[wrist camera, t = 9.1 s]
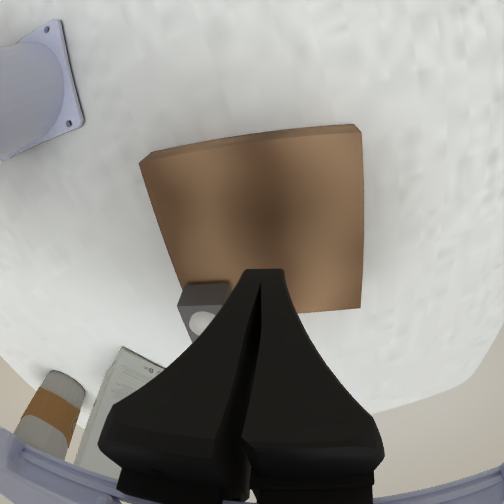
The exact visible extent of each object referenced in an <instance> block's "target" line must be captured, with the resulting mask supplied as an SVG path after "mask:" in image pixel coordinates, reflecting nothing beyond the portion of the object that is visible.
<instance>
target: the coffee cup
mask: <svg viewBox="0 0 504 504" xmlns="http://www.w3.org/2000/svg"><path fill="white" fill-rule="evenodd" d="M83 400H84V389H83V388H82V386H81V385H80V384H79V383H78V382H76V381H75V380H74V379H72V378H71V377H69V376H67V375H65V374H63V373H61V372H58V371H52V372H51V373H49V374H48V375H47V377H46V378H45V380H44V381H43V383H42V385H41V386H40V387H39V388H38V390H37V392H36V393H35V395H34V397H33V399H32V400H31V402H30V404H29V405H28V407H27V409H26V410H25V412H24V414H23V416H22V417H21V421H20V422H19V424H18V426H17V428H16V430H15V432H14V433H13V434H14V435H16V436H17V437H18V438H20V439H21V440H22V441H23V442H24V443H25V444H27V445H29V446H31V447H33V448H35V449H38V450H40V451H42V452H44V453H47V454H49V455H51V456H54V457H56V458H58V459H61V460H63V461H64V460H65V456H66V453H67V449H68V448H69V445H70V442H71V438H72V435H73V432H74V429H75V426H76V423H77V419H78V416H79V413H80V408H81V406H82V403H83Z"/></svg>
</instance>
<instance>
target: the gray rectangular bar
mask: <svg viewBox="0 0 504 504" xmlns="http://www.w3.org/2000/svg"><path fill="white" fill-rule="evenodd" d="M230 294H231V289H230V285H229V283H221V284H201V285H185V286H184V289H183V292H182V294H181V297H180V299H179V302H178V305H177V307H178V310H179V312H180V315H181V317H182V320H183V322H184V324H185V327H186V329H187V331H188V334H189V336H190V338H191V341H192V343H193V342H194V341H195V340H196V339H197V338H198V337H199V336H200V334H201V333H202V332H203V331H204V330H205V328H206V327H207V326H208V325H209V323H210V322H211V321H212V320H213V318H214V317H215V316H216V314H217V313H218V312H219V310H220V309H221V307H222V306H223V304H224V303H225V301H226V300H227V299H228V297H229V296H230Z"/></svg>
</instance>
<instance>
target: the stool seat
mask: <svg viewBox="0 0 504 504" xmlns="http://www.w3.org/2000/svg"><path fill="white" fill-rule="evenodd" d="M139 166H140V169H141V173H142V176H143V179H144V182H145V185H146V188H147V192H148V195H149V198H150V201H151V204H152V207H153V210H154V213H155V216H156V219H157V222H158V225H159V227H160V230H161V233H162V236H163V239H164V242H165V244H166V247H167V250H168V253H169V256H170V258H171V261H172V264H173V266H174V269H175V272H176V274H177V277H178V280H179V282H180V285H181V287H182V290H183V289H184V286H185V285H201V284H221V283H229V285H230V289H231V292H232V291H233V289H234V287H235V286H236V284H237V282H238V281H239V279H240V277H241V275H242V273H243V271H244V270H246V269H279V268H281V269H283V270H284V271H285V280H286V284H287V288H288V291H289V294H290V297H291V300H292V302H293V305H294V307H295V310H296V312H297V313H310V312H322V311H334V310H345V309H355V308H360V306H361V291H362V273H363V245H364V179H363V152H362V134H361V131H360V130H359V129H358V128H357V127H356V126H355V125H354V124H346V125H331V126H318V127H307V128H297V129H288V130H279V131H271V132H263V133H255V134H248V135H241V136H235V137H228V138H222V139H216V140H210V141H205V142H199V143H194V144H189V145H184V146H179V147H174V148H169V149H164V150H160V151H155V152H151V153H150V154H149V155H148V156H147V157H145V158H144V159H143V160H142V161H141V162H139Z"/></svg>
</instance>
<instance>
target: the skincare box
mask: <svg viewBox="0 0 504 504" xmlns="http://www.w3.org/2000/svg"><path fill="white" fill-rule="evenodd" d="M163 370H165V369H163V368H161V367H158V366H156V365H154V364H152V363H150V362H148V361H147V360H145V359H143V358H142V357H140V356H138V355H136V354H135V353H133V352H131V351H129V350H127V349H125V348H121V350H120V352H119V355H118V357H117V358H116V360H115V362H114V364H113V365H112V367H111V368H110V369H109V371H108V372H107V373H106V375H105V377H104V380H103V382H102V385H101V387H100V390H99V393H98V395H97V398H96V400H95V403H94V406H93V408H92V411H91V414H90V416H89V419H88V422H87V425H86V428H85V431H84V434H83V436H82V439H81V443H80V446H79V449H78V453H77V455H76V458H75V461H74V465H76V466H79V467H82V468H84V469H87V470H90V471H93V472H96V473H99V474H102V475H105V476H109V477H112V478H115V479H119V476H120V472H121V469H122V468H121V467H120V466H118V465H117V464H116V463H114V462H113V461H112V460H111V459H109V458H108V457H107V456H105V455H104V454H103V453H102V452H101V451H100V449H99V447H98V445H97V443H98V440H99V437H100V434H101V431H102V428H103V426H104V423H105V420H106V418H107V415H108V413H109V412H110V410H111V408H112V405H113V404H115V403H117V402H119V401H120V400H122V399H123V398H125V397H127V396H128V395H130V394H132V393H133V392H135V391H136V390H138V389H139V388H141V387H142V386H144V385H145V384H146V383H148V382H149V381H150V380H152V379H153V378H154V377H156V376H157V375H158V374H159V373H161V372H162V371H163Z"/></svg>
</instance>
